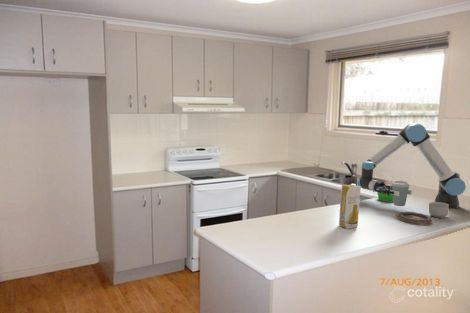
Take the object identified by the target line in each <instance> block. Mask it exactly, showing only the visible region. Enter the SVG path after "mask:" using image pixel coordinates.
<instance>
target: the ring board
mask: <svg viewBox="0 0 470 313" xmlns="http://www.w3.org/2000/svg"><path fill="white" fill-rule="evenodd" d="M396 219H397V220H399V221H400V222H403V223H405V224H411V225H417V226H428V225H432V224H433V219H432V217H431V216H430V215H428V214H424V213H421V212H414V211H400V212H399V213H398V214H397V215H396Z"/></svg>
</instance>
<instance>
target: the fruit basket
mask: <svg viewBox="0 0 470 313" xmlns="http://www.w3.org/2000/svg"><path fill="white" fill-rule="evenodd" d="M376 194H377V198H378V200H379V201H383V202H391V203H392V202H393V195H391V194H389V195H387V193H386V194H384V193H378V192H376Z"/></svg>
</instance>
